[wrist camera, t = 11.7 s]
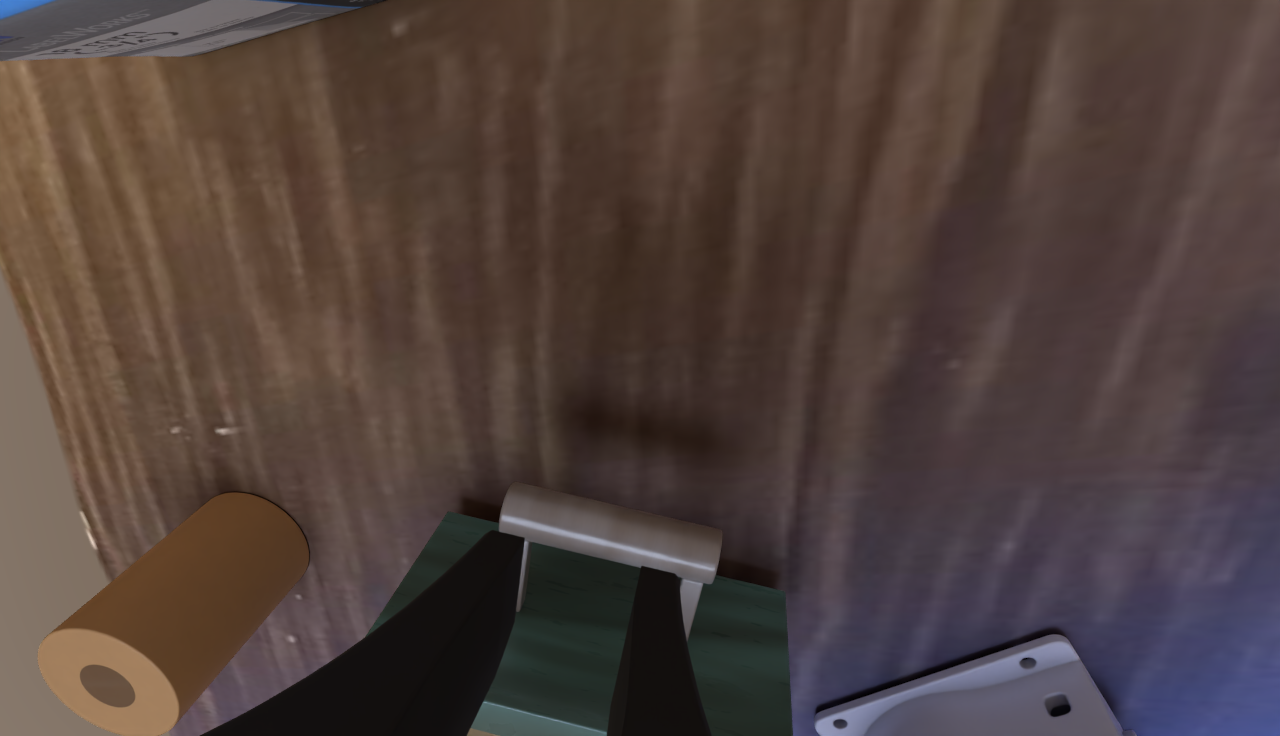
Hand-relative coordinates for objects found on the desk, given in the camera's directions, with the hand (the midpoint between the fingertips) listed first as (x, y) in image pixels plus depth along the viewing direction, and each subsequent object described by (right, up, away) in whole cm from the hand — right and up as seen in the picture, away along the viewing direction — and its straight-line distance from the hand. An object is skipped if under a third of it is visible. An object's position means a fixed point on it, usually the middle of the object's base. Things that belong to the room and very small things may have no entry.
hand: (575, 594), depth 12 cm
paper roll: (-14, -3, +15) cm, 21 cm away
